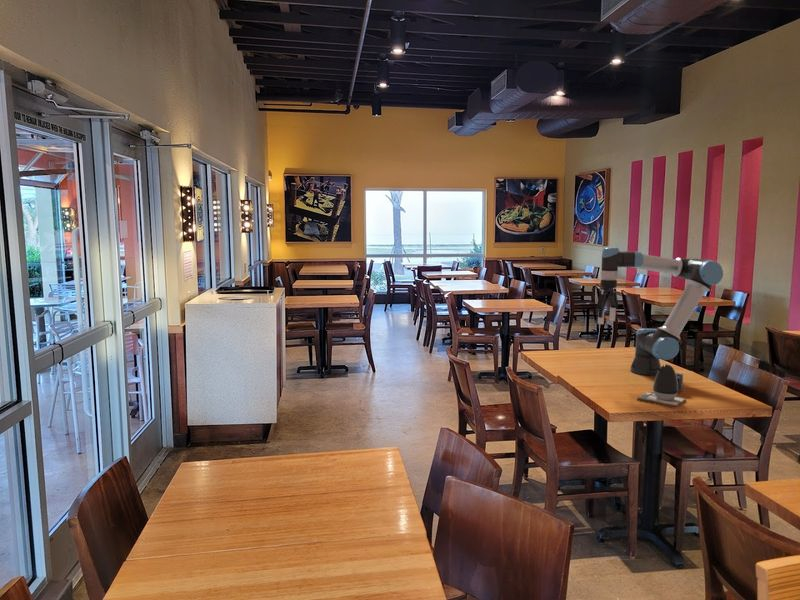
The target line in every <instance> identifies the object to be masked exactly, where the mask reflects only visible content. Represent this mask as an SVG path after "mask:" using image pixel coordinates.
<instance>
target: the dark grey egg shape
mask: <svg viewBox="0 0 800 600" xmlns="http://www.w3.org/2000/svg"><path fill="white" fill-rule="evenodd" d="M655 369H657V370H659V371H658V373H657V375H655V378H654V380H653V385H652V390H653V393H654V394H655V396H656V397H657V398H659V399H661V400H672V399H674V398H675V397H678V394H679V393H678V380H677V376H676V373H677V372H676V371H675V369H674V367H673V366H672V365H671V364H663V365H662V366H661V368H659V367H655Z"/></svg>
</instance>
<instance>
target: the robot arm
mask: <svg viewBox="0 0 800 600" xmlns="http://www.w3.org/2000/svg"><path fill="white" fill-rule="evenodd" d="M619 268H631V269H632V268H633V269H639V270H646V271H650V272H656V273H657V272H658V273H662V274H663V273H664V274H668V275H669V274H670V275H672V276H673V277H677V278H680V279H685V281H686V283H687V284H686V286H685V288H684V290H683V292H682V293H681V295H680V297H679V298H678V300H677V301H676V303H675V304H674V306H673V309H672V310H671V312H670V314H669V315H668V317H667V318H666V320H665V322H664V324H663V325H662V326H660V327H657V328H638V329H637V330H636V334H635V349H634V351H635V353H634V358H633V361H632V362H631V365H630V372H632V373H634V374H637V375H642V376H656V375H657V373H658V371H659V370H657V369H655V367H659V368H661V367H662V366H661V361H660V360H663V361H669V360H672V359H673V358H675V357H676V356H677V355H678V354H679V351H680V344H679V343H680V341H681V336H680V334H681V333H682V332H683V330H684V327H685V326H686V324H687V323H688V321H689V320H690V318H691V316H692V314H693V312H695V309H696V307H697V306H698V304H699V303H700V301H701V299H702V297H703V296H704V294H705V293H707V292H710V290H711V289H712V287H713V286H716V285H718V284H719V283H720V282H721V281H722V279H723V277H724V270H723V267H722V265H721V264H720V263H719V262H717V261H715V260H712V259H702V258H683V257H682V258H681V257H676V258H675V259H674V258H668V257H664V256H662V257H661V256H656V255H649V254H645V253H642V252H641V251H627V250H626V251H625V250H620V249H619V248H618V247H610V246H609V247H603V248H602V252H601V271H600V278H601V279H600V286H599V287H601V288H603V289H600V290H599V296H598V301H597V303H596V307H595V310H596V311H598V313H597V325H604V324H605V323H604V322H605V308H606V304H607V302H609V305H610V307H609V318H608V319H609V320H608V321H610V322H616V313H617V309H618V308H619V301H618V294H617V286H618V281H617V280H618V269H619Z"/></svg>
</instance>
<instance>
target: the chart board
mask: <svg viewBox="0 0 800 600" xmlns="http://www.w3.org/2000/svg"><path fill="white" fill-rule="evenodd" d="M636 400H637V401H639V400H640V401H639V402H643V401H645V402H644V403H648V402H650V403H649V404H653V403H656V404H655V405H658V404H660V405H659V406H663V405H664V407H667V406H668V408H672V407H673V409H676V408H678V407H679V406H680V405H682V404H683V402H684V401H685V402H686V401H687V398H684V397H679V396H676V397H675V398H674V399H672V400H661V399H659V398H657V397H656V396H655V394H654V391H653V392H652V391H647V392H646V393H644V394H642V395H640V396H638V397H636ZM685 402H684V403H685ZM681 403H682V404H681ZM678 405H679V406H678Z"/></svg>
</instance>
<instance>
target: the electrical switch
mask: <svg viewBox="0 0 800 600" xmlns="http://www.w3.org/2000/svg"><path fill="white" fill-rule="evenodd" d="M675 373H676V376H677V380H678V392H680V391H682V392H683V387H684V386H683V385H684V374H683V373H681V372H675Z"/></svg>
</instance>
